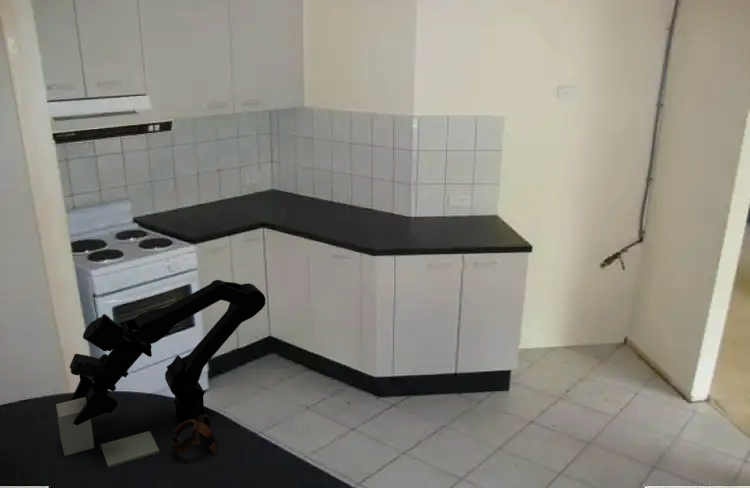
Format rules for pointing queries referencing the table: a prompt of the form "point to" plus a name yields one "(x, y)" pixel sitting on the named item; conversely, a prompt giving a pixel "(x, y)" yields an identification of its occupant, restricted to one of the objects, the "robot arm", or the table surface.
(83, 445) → the gray rectangular block
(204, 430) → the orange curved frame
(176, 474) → the table surface
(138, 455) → the sage mat
